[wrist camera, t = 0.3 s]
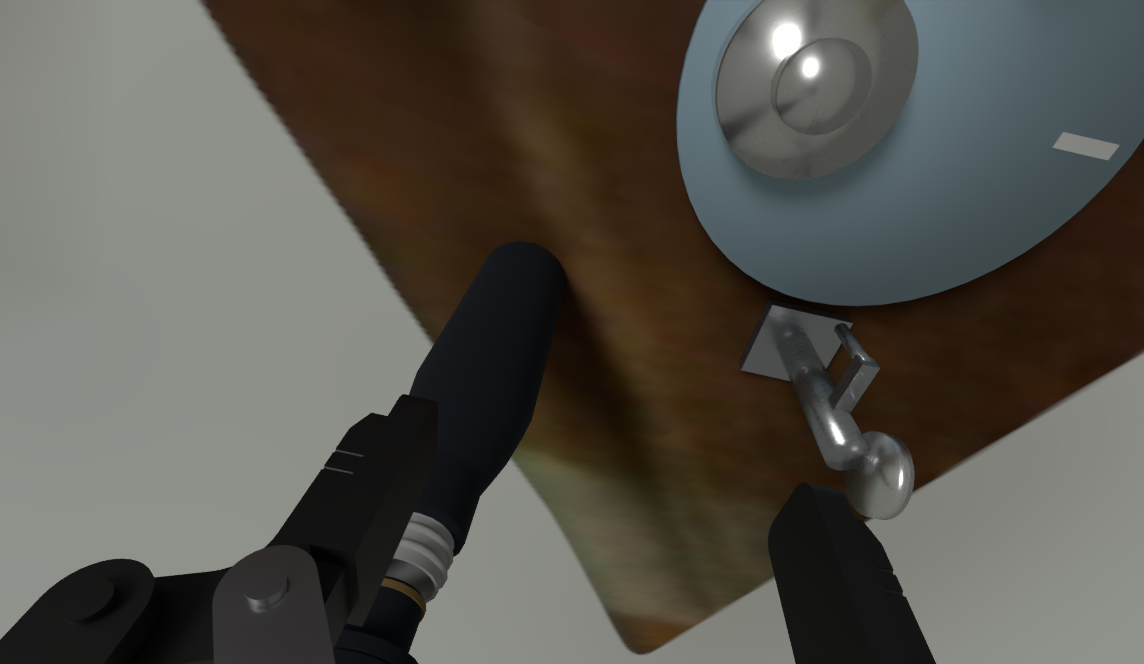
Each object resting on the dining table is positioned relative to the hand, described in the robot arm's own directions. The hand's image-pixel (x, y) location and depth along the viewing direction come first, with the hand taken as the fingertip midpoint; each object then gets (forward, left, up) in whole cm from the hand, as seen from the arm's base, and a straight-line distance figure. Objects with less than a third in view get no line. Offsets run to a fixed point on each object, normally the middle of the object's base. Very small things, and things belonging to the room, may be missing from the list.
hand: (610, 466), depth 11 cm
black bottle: (+10, -6, -26) cm, 28 cm away
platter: (-7, +13, -24) cm, 28 cm away
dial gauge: (+10, +15, -26) cm, 32 cm away
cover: (-7, +7, -22) cm, 25 cm away
